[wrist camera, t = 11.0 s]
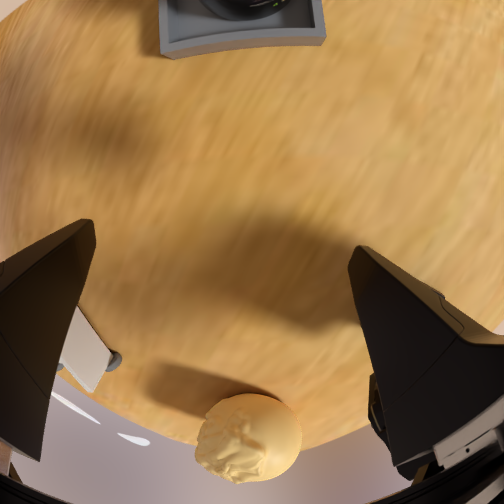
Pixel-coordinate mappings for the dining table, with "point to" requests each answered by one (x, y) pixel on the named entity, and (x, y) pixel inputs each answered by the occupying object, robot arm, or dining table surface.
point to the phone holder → (86, 353)
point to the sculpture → (248, 438)
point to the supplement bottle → (244, 8)
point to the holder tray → (236, 28)
